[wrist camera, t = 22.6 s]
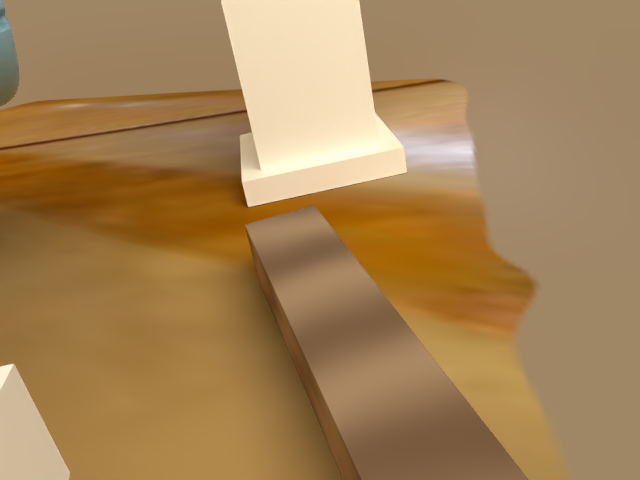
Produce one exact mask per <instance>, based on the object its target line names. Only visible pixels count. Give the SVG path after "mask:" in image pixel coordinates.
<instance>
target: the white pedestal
mask: <svg viewBox="0 0 640 480" xmlns="http://www.w3.org/2000/svg"><path fill="white" fill-rule="evenodd" d="M221 2H222V7H223V11H224V15H225V19H226V24H227V28H228V32H229V36H230V41H231V45H232V49H233V53H234V57H235V61H236V66H237V70H238V74H239V78H240V83H241V87H242V91H243V95H244V100H245V104H246V108H247V112H248V117H249V121H250V125H251V129H252V133H247V134H243V135H240V152H241V174H242V185H243V189H244V193H245V196H246V200H247V204H248V207H251V206H256V205H261V204H265V203H270V202H274V201H279V200H283V199H288V198H293V197H297V196H302V195H306V194H311V193H316V192H320V191H325V190H329V189H334V188H339V187H343V186H348V185H352V184H357V183H362V182H366V181H371V180H375V179H380V178H385V177H389V176H394V175H398V174H403V173H407V169H406V160H405V152H404V147H403V146H402V144H401V143H400V142H399V141H398V140H397V138H396V137H395V136H394V135H393V134H392V132H391V131H390V130H389V129H388V128H387V126H386V125H385V124H384V123H383V122H382V120H381V119H380V118H379V117H378V116H377V114H376V113H375V111H374V104H373V97H372V89H371V82H370V75H369V69H368V61H367V54H366V47H365V40H364V33H363V25H362V19H361V11H360V4H359V0H221Z"/></svg>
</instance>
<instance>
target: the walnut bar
mask: <svg viewBox="0 0 640 480" xmlns="http://www.w3.org/2000/svg"><path fill="white" fill-rule="evenodd" d="M245 228H246V232H247V235H248V239H249V243H250V247H251V251H252V255H253V259H254V262H255V266H256V270H257V274H258V278H259V282H260V284H261V286H262V289H263V291H264V293H265V296H266V298H267V301H268V303H269V305H270V308H271V310H272V312H273V315H274V317H275V319H276V322H277V324H278V327H279V329H280V331H281V334H282V336H283V338H284V341H285V343H286V345H287V348H288V350H289V353H290V355H291V357H292V360H293V362H294V364H295V367H296V369H297V371H298V374H299V376H300V379H301V381H302V383H303V386H304V388H305V390H306V393H307V395H308V397H309V400H310V402H311V405H312V407H313V409H314V412H315V414H316V416H317V419H318V421H319V423H320V426H321V428H322V431H323V433H324V435H325V438H326V440H327V442H328V445H329V447H330V449H331V452H332V454H333V457H334V459H335V461H336V464H337V466H338V468H339V471H340V473H341V475H342V478H343V480H528V478H527V477H526V476H525V475H524V473H523V472H522V471H521V469H520V468H519V467H518V466H517V464H516V463H515V462H514V460H513V459H512V458H511V457H510V455H509V454H508V453H507V452H506V450H505V449H504V448H503V446H502V445H501V444H500V443H499V441H498V440H497V439H496V437H495V436H494V435H493V434H492V432H491V431H490V430H489V428H488V427H487V426H486V425H485V423H484V422H483V421H482V420H481V418H480V417H479V416H478V414H477V413H476V412H475V411H474V409H473V408H472V407H471V405H470V404H469V403H468V402H467V400H466V399H465V398H464V396H463V395H462V394H461V393H460V391H459V390H458V389H457V387H456V386H455V385H454V384H453V382H452V381H451V380H450V379H449V377H448V376H447V375H446V373H445V372H444V371H443V370H442V368H441V367H440V366H439V364H438V363H437V362H436V361H435V359H434V358H433V357H432V355H431V354H430V353H429V352H428V350H427V349H426V348H425V347H424V345H423V344H422V343H421V341H420V340H419V339H418V338H417V336H416V335H415V334H414V332H413V331H412V330H411V329H410V327H409V326H408V325H407V323H406V322H405V321H404V320H403V318H402V317H401V316H400V314H399V313H398V312H397V311H396V309H395V308H394V307H393V306H392V304H391V303H390V302H389V300H388V299H387V298H386V297H385V295H384V294H383V293H382V291H381V290H380V289H379V288H378V286H377V285H376V284H375V282H374V281H373V280H372V279H371V277H370V276H369V275H368V274H367V272H366V271H365V270H364V268H363V267H362V266H361V265H360V263H359V262H358V261H357V259H356V258H355V257H354V256H353V254H352V253H351V252H350V250H349V249H348V248H347V247H346V245H345V244H344V243H343V241H342V240H341V239H340V238H339V236H338V235H337V234H336V233H335V231H334V230H333V229H332V227H331V226H330V225H329V224H328V222H327V221H326V220H325V218H324V217H323V216H322V215H321V213H320V212H319V211H318V209H317V208H316V207H315V206H314V205H313V206H309V207H306V208H302V209H299V210H295V211H292V212H288V213H285V214H281V215H278V216H274V217H271V218H267V219H264V220H260V221H257V222H253V223H250V224H246V225H245Z"/></svg>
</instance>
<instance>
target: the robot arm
mask: <svg viewBox="0 0 640 480" xmlns="http://www.w3.org/2000/svg"><path fill="white" fill-rule="evenodd" d="M18 86H19V67H18V59H17V54H16V48H15V44H14V40H13V36H12V31H11V28H10V25H9V22H8V20H7V18H6V17H5V8H4V5H3V0H0V106H2V105H4V104H6V103H7V102H9V101H10V100H11V99H12V98H13V97H14V95H15V94H16V92H17V89H18ZM69 477H70V472H69V470H68V468H67V466H66V464H65V462H64V460H63V458H62V457H61V455H60V453H59V451H58V449H57V447H56V445H55V443H54V441H53V439H52V437H51V435H50V433H49V431H48V429H47V427H46V425H45V423H44V421H43V419H42V417H41V416H40V414H39V412H38V410H37V408H36V406H35V404H34V402H33V400H32V398H31V396H30V394H29V392H28V390H27V388H26V386H25V384H24V382H23V380H22V378H21V376H20V375H19V373H18V371H17V369H16V367H15V365H14V364H10V365H6V366H1V367H0V480H69Z"/></svg>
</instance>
